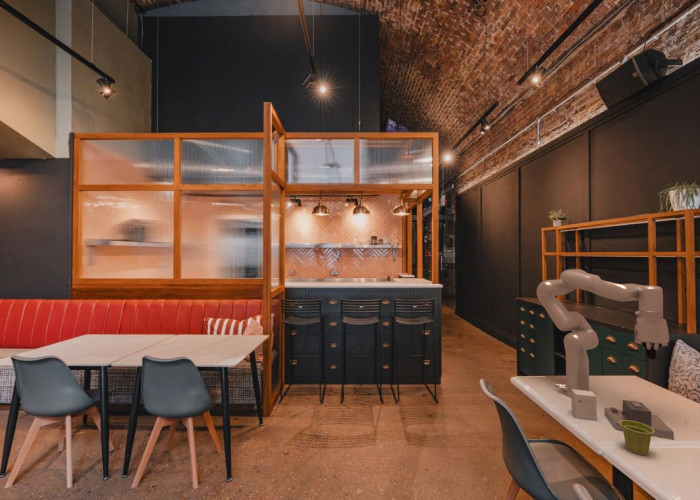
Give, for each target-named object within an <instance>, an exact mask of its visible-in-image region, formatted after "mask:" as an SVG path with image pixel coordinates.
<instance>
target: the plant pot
mask: <svg viewBox="0 0 700 500" xmlns="http://www.w3.org/2000/svg"><path fill="white" fill-rule="evenodd" d="M620 425H621V426H622V429H623V431H622V432H623V436H624V437H623V438H624V442H625V448H626V450H628V451H630V452H632V453H633V454H634V453H636V454H638V455H641V456H647V455H648V454H649V453H650V452H649V451H650V445H651V439H652V437H653V436H652V434H653V433H654V430H653V429H652V428H651V427H649V426H647V425H645V424H643V423H640V422H636V421H631V420H622V421H620Z"/></svg>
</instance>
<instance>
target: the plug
mask: <svg viewBox="0 0 700 500" xmlns="http://www.w3.org/2000/svg"><path fill="white" fill-rule="evenodd" d="M622 410H623V415H625V416H626V417H627V418H628V419H629V420H631V421H636V422H640V423H643V424H645V425H650V426H651V414H652V411H651V410H650V409H649V408H648V407H647V406H646V405H645V404H644V403H643V402H641V401H635V400H627V399H622Z"/></svg>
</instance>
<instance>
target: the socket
mask: <svg viewBox="0 0 700 500" xmlns="http://www.w3.org/2000/svg"><path fill="white" fill-rule="evenodd" d="M603 410H604V413H603V414H604V416H605V417H606V418H607V420H608V421H609V422H610V424H611V425H612V426H613V428H614V429H615V430H616V431H619V432H620V431H621V432H623V429H622V426H621V425H620V421H622V420H629V419H628V418H627V417H626V416H625V415H623V409H617V407H606V406H605V407H604V408H603ZM647 426H649V427H651V428H652V429H653V430H654V433H653V434H652V436H651V437H656V438H662V439H668V440H675V434H674V433H675V431H673V430H672V428H671V427H669V425H667V424H666V423H665V422H664V421H663V420H662V419H661V418H660V417H659V416H658V415H657V414H652V413H651V426H650V425H647Z"/></svg>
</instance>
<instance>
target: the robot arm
mask: <svg viewBox="0 0 700 500" xmlns="http://www.w3.org/2000/svg"><path fill="white" fill-rule="evenodd" d="M559 277H560V278H559V279H547V280H544V281H541V282H540V283H539V284H538V286H537V288H536V296H537V299H538V301H539V302H540V303H541V306H542V307H543V308H544V309H545V310H546V312H547V314H548V316H549V317H550V319H551V321H552V322H553V323H554V325H555V327H557V329H558V330H560V331H562V332H568V331H571V332H568V333H567V334H566V335H564V338H563V344H564V345H563V346H564V350H565V372H566V373H565V377H566V378H565V381H564V383H562V384H561V383H557V382H555V388H558V389H560V390H562V393H563V394H564V395H566V396H567V397H570V398H572V393H571V390H572V389H574V390H583V391H590V361H589V357H588V353H587V351H588V350H593V349H595V348H597V347H598V346H599V337H598V335H597V333H596V332H595V331H594V329H593V328H592V326H591V325H590V323H589V322H588V321H587V319H586V317H584V315H582V314H581V313H579V312H577V311H568V310H567V308H566V307H565V306H564V304H563V302H561V301H560V300H559V299H558V298H557V297H556V296H564V295H567V294H569V293H571V292H573V291H575V290H577V289H579V290H583V291H587V292H589V293H590V292H591V293H593V294H595V295H597V296H600V297H602V298H605V299H609V300H613V301H617V302H633V301H638V309H637V311H634V314H635V315H636V316H637V317H636V320H635V325H634V338H635V339H634V343H635V344H638V345H642V346H643V347H644V348H645V356H646V357H647V358H648V359H649V360H656V358H657V350H659V349H660V348H661V347H667V346H669V344H668V343H669V342H670V334H669V327H668V324H667V320H666V319H664V312H663V311H664V296H663V295H664V293H663V292H664V291H663V288H662V287H661V286H656V285H643V284H638V283H637V284H636V283H621V284H620V283H615V282H611V281H606V280H603V279H601V277H600V276H599V275H597V274H592V273H588V272H587V271H585V270H583V269H580V268H577V269H566V270H563V271H562V272H561V274H560V275H559Z"/></svg>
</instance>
